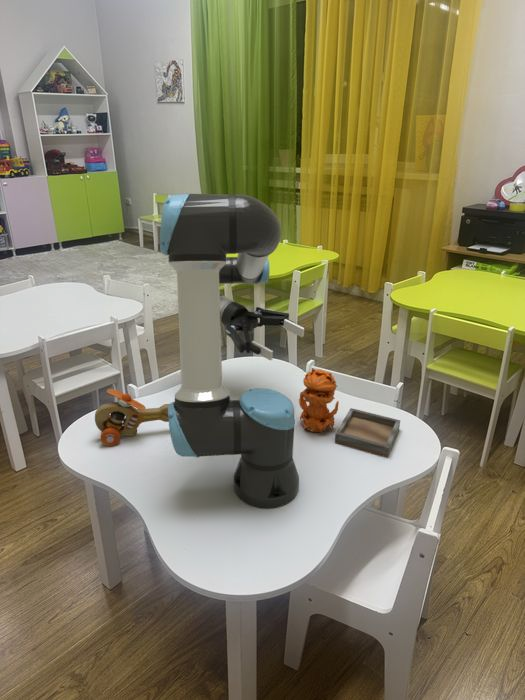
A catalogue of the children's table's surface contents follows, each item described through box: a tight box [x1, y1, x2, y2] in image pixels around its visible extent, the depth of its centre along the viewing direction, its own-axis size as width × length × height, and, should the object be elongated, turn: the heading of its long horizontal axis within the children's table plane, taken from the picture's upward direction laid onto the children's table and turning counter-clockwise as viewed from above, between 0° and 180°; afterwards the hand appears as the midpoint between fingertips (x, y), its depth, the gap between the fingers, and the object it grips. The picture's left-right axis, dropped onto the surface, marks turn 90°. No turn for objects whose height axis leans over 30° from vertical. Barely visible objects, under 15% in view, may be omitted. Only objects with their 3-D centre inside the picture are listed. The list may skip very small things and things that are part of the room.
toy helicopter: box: [94, 388, 170, 447], centre depth 125 cm, size 8×21×14 cm, turn 104°
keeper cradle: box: [334, 407, 401, 459], centre depth 128 cm, size 14×14×3 cm
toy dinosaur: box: [298, 367, 340, 433], centre depth 129 cm, size 11×11×18 cm
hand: (288, 344), depth 126 cm, fingers open, 13 cm apart
